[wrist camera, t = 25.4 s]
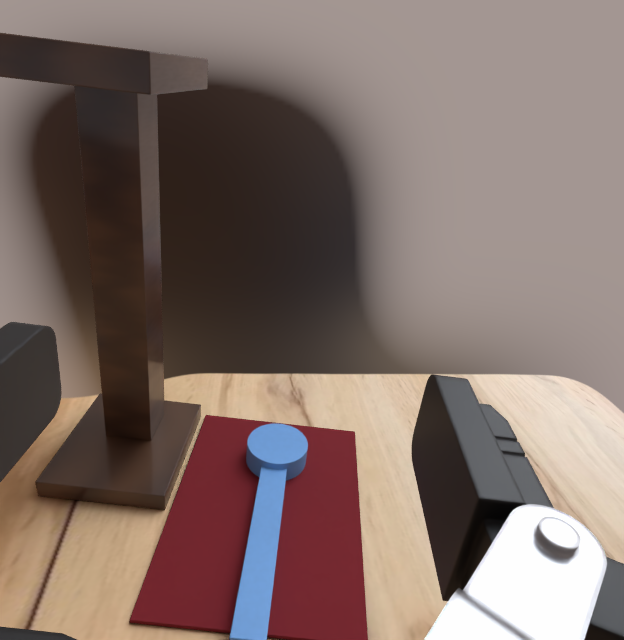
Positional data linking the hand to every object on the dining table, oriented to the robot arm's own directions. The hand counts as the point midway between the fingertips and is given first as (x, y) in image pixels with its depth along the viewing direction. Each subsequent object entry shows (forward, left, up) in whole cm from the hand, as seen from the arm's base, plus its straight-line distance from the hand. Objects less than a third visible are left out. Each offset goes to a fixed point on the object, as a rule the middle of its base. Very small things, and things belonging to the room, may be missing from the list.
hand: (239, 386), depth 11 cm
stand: (-13, +25, -26) cm, 38 cm away
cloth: (0, +21, -26) cm, 33 cm away
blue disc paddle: (0, +19, -25) cm, 32 cm away
